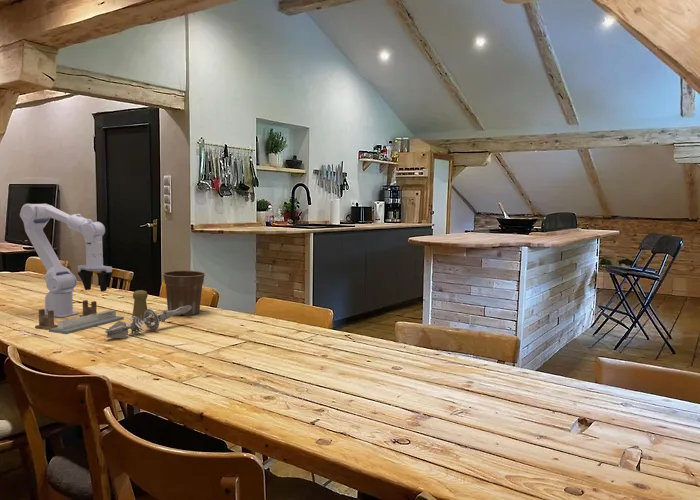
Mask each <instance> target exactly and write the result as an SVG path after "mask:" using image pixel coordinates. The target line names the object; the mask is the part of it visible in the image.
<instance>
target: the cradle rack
mask: <svg viewBox="0 0 700 500" xmlns="http://www.w3.org/2000/svg"><path fill="white" fill-rule="evenodd" d="M90 304H91V305H90V306H89V301H88V300H82V314H80V315H79V316H78V317H82V316H87V315H91V314H95V313H98V312H97V310H98V309H97V301H95V300H94V301H91V303H90ZM55 327H58V324H55V316H54V310H50V311H48V316H47V315H45V308H41V309H38V324H37V325H34V328H35V329H39V330H47V331H49V329H51V328H55Z"/></svg>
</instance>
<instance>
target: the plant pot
mask: <svg viewBox="0 0 700 500" xmlns="http://www.w3.org/2000/svg"><path fill="white" fill-rule="evenodd" d="M162 275H163V278H164V279H163V280H164V284H165V292H166V293H165V294H166V303H167V304H166V305H167V311H172V310H176V309H178V308H180V307H183V306H187V305H190V306H192V308H191V309H190V310H189V311H188V312H186V313H182V314H179V315H174V316H176V317H179V316H184V317H188V316H189V317H190V316H195V315H198V314H199V313H200V310H201V301H202V292H203V285H204V283H205V282H204V281H205V276H206V273H205V272H203V271H198V270H173V271H172V270H171V271H165V272H162ZM174 316H173V317H174Z"/></svg>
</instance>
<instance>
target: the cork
mask: <svg viewBox="0 0 700 500" xmlns="http://www.w3.org/2000/svg"><path fill="white" fill-rule="evenodd" d="M132 299H133V300H134V301H133V308H132V309H133V310H132V316H131V317H133V316H135V317H137V316H139V317H140V315H142V317H141V319H142V321H144V320H143V319H144V312H145V311H146V310H147V309H148V304H147V299H148V292H147V291H146V290H143V289H141V290H135V291H133V293H132ZM133 318H134V317H133ZM131 319H132V318H131ZM132 320H134V319H132Z"/></svg>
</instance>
